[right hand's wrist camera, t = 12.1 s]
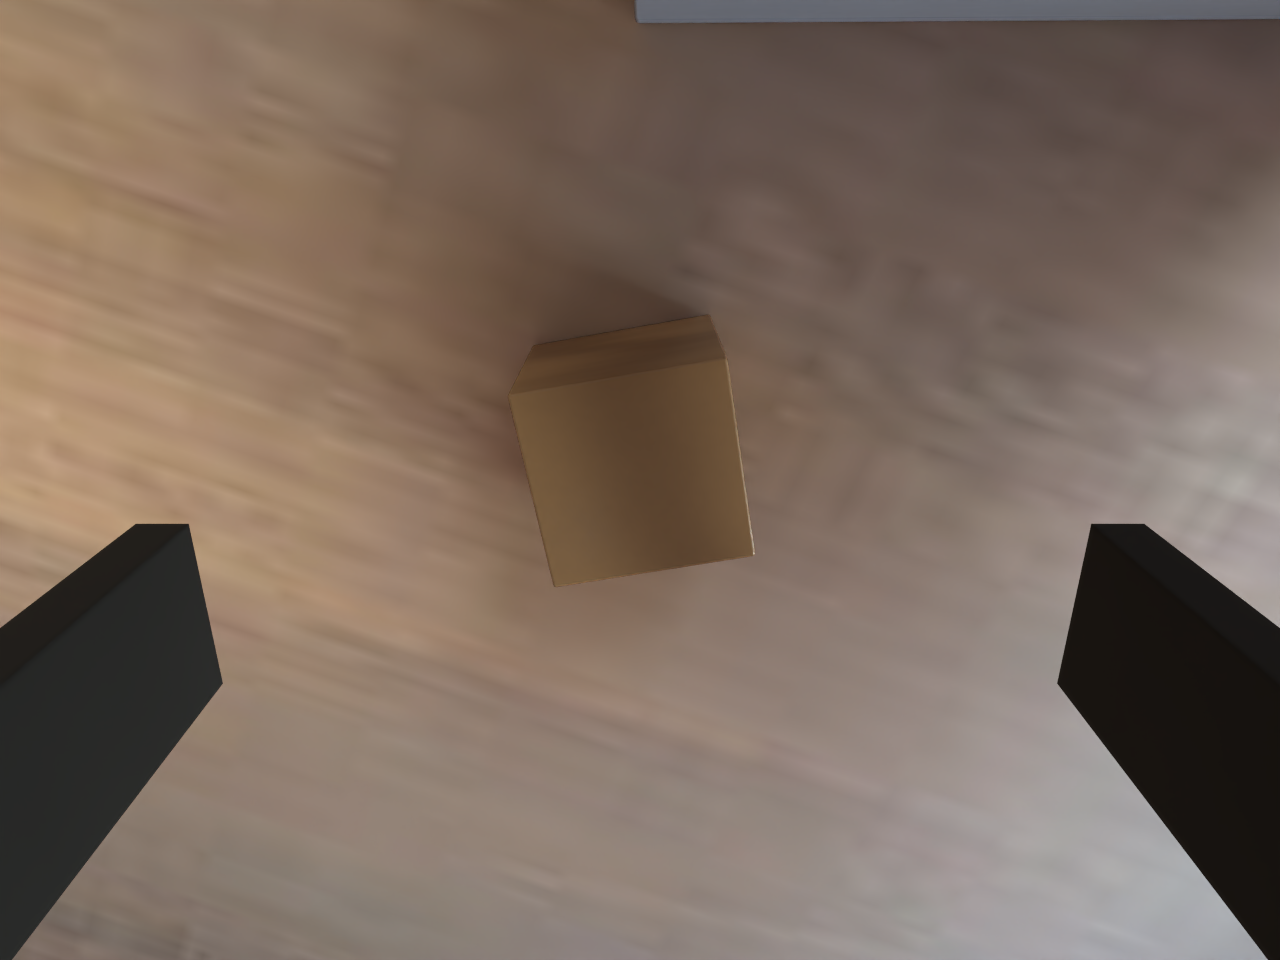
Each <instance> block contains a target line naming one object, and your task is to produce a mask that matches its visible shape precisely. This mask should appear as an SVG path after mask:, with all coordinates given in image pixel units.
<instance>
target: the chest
mask: <svg viewBox="0 0 1280 960" xmlns="http://www.w3.org/2000/svg"><path fill="white" fill-rule="evenodd" d="M634 10H635V20H636V22H638V23H734V22H890V21H1046V20H1202V19H1280V0H634Z"/></svg>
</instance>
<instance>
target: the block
mask: <svg viewBox="0 0 1280 960" xmlns="http://www.w3.org/2000/svg"><path fill="white" fill-rule="evenodd" d="M508 400H509V404H510V408H511V412H512V416H513V420H514V424H515V429H516V433H517V437H518V441H519V445H520V449H521V453H522V457H523V462H524V466H525V470H526V474H527V478H528V482H529V486H530V490H531V495H532V499H533V503H534V507H535V511H536V515H537V519H538V523H539V527H540V532H541V536H542V540H543V544H544V548H545V552H546V556H547V560H548V565H549V569H550V573H551V577H552V581H553V585H554V586H555V587H559V586H566V585H572V584H578V583H585V582H591V581H597V580H604V579H610V578H616V577H623V576H629V575H636V574H642V573H648V572H655V571H661V570H667V569H674V568H680V567H686V566H693V565H699V564H705V563H712V562H718V561H724V560H731V559H737V558H744V557H750V556H754V555H755V549H754V542H753V535H752V528H751V521H750V514H749V507H748V500H747V493H746V486H745V479H744V472H743V465H742V458H741V451H740V444H739V437H738V430H737V423H736V415H735V408H734V401H733V394H732V387H731V380H730V373H729V366H728V359H727V357H726V354H725V352H724V349H723V347H722V344H721V342H720V339H719V337H718V334H717V332H716V329H715V326H714V324H713V321H712V319H711V317H710V315H704V316H698V317H692V318H686V319H681V320H675V321H669V322H664V323H658V324H652V325H647V326H641V327H635V328H630V329H624V330H618V331H613V332H607V333H601V334H596V335H590V336H584V337H579V338H573V339H567V340H562V341H556V342H550V343H545V344H539V345H534V346H533V347H532V349H531V351H530V353H529V355H528V357H527V359H526V361H525V363H524V365H523V367H522V369H521V371H520V373H519V375H518V377H517V379H516V381H515V383H514V385H513V387H512V389H511V391H510V393H509V395H508Z"/></svg>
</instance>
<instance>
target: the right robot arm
mask: <svg viewBox="0 0 1280 960" xmlns="http://www.w3.org/2000/svg"><path fill="white" fill-rule="evenodd" d="M222 684H223V682H222V678H221V673H220V668H219V664H218V659H217V654H216V650H215V645H214V640H213V636H212V631H211V626H210V622H209V617H208V612H207V608H206V603H205V598H204V594H203V589H202V584H201V580H200V575H199V570H198V566H197V561H196V556H195V552H194V547H193V542H192V538H191V533H190V528H189V524H135V525H134V526H133V527H131V528H130V529H129V530H127V531H126V532H125V533H123V534H122V535H121V536H120V537H118V538H117V539H116V540H114V541H113V542H112V543H110V544H109V545H108V546H106V547H105V548H104V549H103V550H101V551H100V552H99V553H97V554H96V555H95V556H93V557H92V558H91V559H90V560H88V561H87V562H86V563H84V564H83V565H82V566H80V567H79V568H78V569H77V570H75V571H74V572H73V573H71V574H70V575H69V576H67V577H66V578H65V579H64V580H62V581H61V582H60V583H58V584H57V585H56V586H54V587H53V588H52V589H51V590H49V591H48V592H47V593H45V594H44V595H43V596H41V597H40V598H39V599H38V600H36V601H35V602H34V603H32V604H31V605H30V606H28V607H27V608H26V609H24V610H23V611H22V612H21V613H19V614H18V615H17V616H15V617H14V618H13V619H11V620H10V621H9V622H8V623H6V624H5V625H4V626H2V627H1V628H0V960H12V959H13V958H14V956H15V955H16V954H17V952H18V951H19V950H20V948H21V947H22V946H23V944H24V943H25V942H26V941H27V939H28V938H29V937H30V935H31V934H32V933H33V931H34V930H35V929H36V927H37V926H38V925H39V923H40V922H41V921H42V920H43V918H44V917H45V916H46V914H47V913H48V912H49V910H50V909H51V908H52V906H53V905H54V904H55V903H56V901H57V900H58V899H59V897H60V896H61V895H62V893H63V892H64V891H65V889H66V888H67V887H68V885H69V884H70V883H71V882H72V880H73V879H74V878H75V876H76V875H77V874H78V872H79V871H80V870H81V868H82V867H83V866H84V865H85V863H86V862H87V861H88V859H89V858H90V857H91V855H92V854H93V853H94V851H95V850H96V849H97V847H98V846H99V845H100V844H101V842H102V841H103V840H104V838H105V837H106V836H107V834H108V833H109V832H110V830H111V829H112V828H113V827H114V825H115V824H116V823H117V821H118V820H119V819H120V817H121V816H122V815H123V813H124V812H125V811H126V809H127V808H128V807H129V806H130V804H131V803H132V802H133V800H134V799H135V798H136V796H137V795H138V794H139V792H140V791H141V790H142V789H143V787H144V786H145V785H146V783H147V782H148V781H149V779H150V778H151V777H152V775H153V774H154V773H155V771H156V770H157V769H158V768H159V766H160V765H161V764H162V762H163V761H164V760H165V758H166V757H167V756H168V754H169V753H170V752H171V751H172V749H173V748H174V747H175V745H176V744H177V743H178V741H179V740H180V739H181V737H182V736H183V735H184V733H185V732H186V731H187V730H188V728H189V727H190V726H191V724H192V723H193V722H194V720H195V719H196V718H197V716H198V715H199V714H200V713H201V711H202V710H203V709H204V707H205V706H206V705H207V703H208V702H209V701H210V699H211V698H212V697H213V695H214V694H215V693H216V692H217V690H218V689H219V688H220V686H221V685H222ZM1057 684H1058V685H1059V686H1060V688H1061V689H1062V690H1063V692H1064V693H1065V694H1066V695H1067V697H1068V698H1069V699H1070V701H1071V702H1072V703H1073V705H1074V706H1075V707H1076V709H1077V710H1078V711H1079V713H1080V714H1081V715H1082V716H1083V718H1084V719H1085V720H1086V722H1087V723H1088V724H1089V726H1090V727H1091V728H1092V730H1093V731H1094V732H1095V733H1096V735H1097V736H1098V737H1099V739H1100V740H1101V741H1102V743H1103V744H1104V745H1105V747H1106V748H1107V749H1108V751H1109V752H1110V753H1111V754H1112V756H1113V757H1114V758H1115V760H1116V761H1117V762H1118V764H1119V765H1120V766H1121V768H1122V769H1123V770H1124V771H1125V773H1126V774H1127V775H1128V777H1129V778H1130V779H1131V781H1132V782H1133V783H1134V785H1135V786H1136V787H1137V789H1138V790H1139V791H1140V792H1141V794H1142V795H1143V796H1144V798H1145V799H1146V800H1147V802H1148V803H1149V804H1150V806H1151V807H1152V808H1153V809H1154V811H1155V812H1156V813H1157V815H1158V816H1159V817H1160V819H1161V820H1162V821H1163V823H1164V824H1165V825H1166V827H1167V828H1168V829H1169V830H1170V832H1171V833H1172V834H1173V836H1174V837H1175V838H1176V840H1177V841H1178V842H1179V844H1180V845H1181V846H1182V847H1183V849H1184V850H1185V851H1186V853H1187V854H1188V855H1189V857H1190V858H1191V859H1192V861H1193V862H1194V863H1195V865H1196V866H1197V867H1198V868H1199V870H1200V871H1201V872H1202V874H1203V875H1204V876H1205V878H1206V879H1207V880H1208V882H1209V883H1210V884H1211V885H1212V887H1213V888H1214V889H1215V891H1216V892H1217V893H1218V895H1219V896H1220V897H1221V899H1222V900H1223V901H1224V903H1225V904H1226V905H1227V906H1228V908H1229V909H1230V910H1231V912H1232V913H1233V914H1234V916H1235V917H1236V918H1237V920H1238V921H1239V922H1240V923H1241V925H1242V926H1243V927H1244V929H1245V930H1246V931H1247V933H1248V934H1249V935H1250V937H1251V938H1252V939H1253V941H1254V942H1255V943H1256V944H1257V946H1258V947H1259V948H1260V950H1261V951H1262V952H1263V954H1264V955H1265V956H1266V958H1267V959H1268V960H1280V628H1279V627H1278V626H1276V625H1275V624H1274V623H1272V622H1271V621H1270V620H1269V619H1267V618H1266V617H1265V616H1263V615H1262V614H1261V613H1259V612H1258V611H1257V610H1256V609H1254V608H1253V607H1252V606H1250V605H1249V604H1248V603H1246V602H1245V601H1244V600H1242V599H1241V598H1240V597H1239V596H1237V595H1236V594H1235V593H1233V592H1232V591H1231V590H1229V589H1228V588H1227V587H1226V586H1224V585H1223V584H1222V583H1220V582H1219V581H1218V580H1216V579H1215V578H1214V577H1213V576H1211V575H1210V574H1209V573H1207V572H1206V571H1205V570H1203V569H1202V568H1201V567H1200V566H1198V565H1197V564H1196V563H1194V562H1193V561H1192V560H1190V559H1189V558H1188V557H1187V556H1185V555H1184V554H1183V553H1181V552H1180V551H1179V550H1177V549H1176V548H1175V547H1174V546H1172V545H1171V544H1170V543H1168V542H1167V541H1166V540H1164V539H1163V538H1162V537H1160V536H1159V535H1158V534H1157V533H1155V532H1154V531H1153V530H1151V529H1150V528H1149V527H1147V526H1146V525H1145V524H1091V528H1090V533H1089V538H1088V542H1087V547H1086V552H1085V556H1084V561H1083V566H1082V570H1081V575H1080V580H1079V584H1078V589H1077V594H1076V598H1075V603H1074V608H1073V612H1072V617H1071V622H1070V626H1069V631H1068V636H1067V640H1066V645H1065V650H1064V654H1063V659H1062V664H1061V668H1060V673H1059V678H1058V682H1057Z"/></svg>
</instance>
